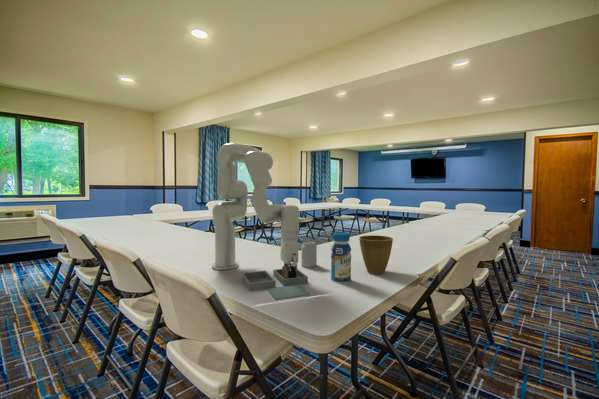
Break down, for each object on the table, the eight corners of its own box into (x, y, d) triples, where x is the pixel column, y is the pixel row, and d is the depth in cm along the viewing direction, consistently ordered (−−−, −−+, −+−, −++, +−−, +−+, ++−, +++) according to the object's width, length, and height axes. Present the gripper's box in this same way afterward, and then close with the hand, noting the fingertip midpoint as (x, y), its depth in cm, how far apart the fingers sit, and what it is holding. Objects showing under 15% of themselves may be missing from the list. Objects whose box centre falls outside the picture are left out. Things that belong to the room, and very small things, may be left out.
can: (315, 269, 134) (315, 244, 133) (299, 268, 135) (300, 243, 135) (317, 265, 141) (317, 241, 141) (302, 264, 143) (302, 240, 142)
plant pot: (394, 269, 134) (394, 236, 133) (390, 279, 120) (390, 241, 119) (362, 266, 140) (363, 234, 139) (355, 274, 126) (355, 238, 126)
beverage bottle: (339, 276, 123) (339, 230, 123) (355, 280, 117) (355, 233, 117) (326, 280, 118) (326, 233, 117) (342, 285, 112) (343, 235, 111)
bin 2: (273, 276, 123) (273, 269, 123) (295, 274, 127) (295, 267, 127) (283, 287, 110) (283, 279, 110) (307, 284, 113) (307, 276, 113)
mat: (266, 290, 106) (266, 288, 106) (299, 286, 111) (299, 284, 111) (275, 301, 96) (275, 299, 96) (310, 296, 101) (310, 293, 101)
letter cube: (282, 277, 120) (282, 265, 119) (293, 276, 121) (293, 264, 121) (286, 281, 115) (286, 269, 115) (297, 280, 117) (297, 267, 117)
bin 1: (242, 280, 118) (242, 273, 118) (265, 277, 122) (265, 270, 122) (249, 291, 105) (248, 284, 105) (275, 288, 109) (275, 280, 108)
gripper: (275, 232, 124) (275, 273, 125) (288, 239, 108) (288, 286, 109) (291, 231, 127) (291, 271, 127) (306, 238, 111) (306, 283, 112)
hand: (289, 277), depth 118 cm, fingers closed on letter cube, 4 cm apart
